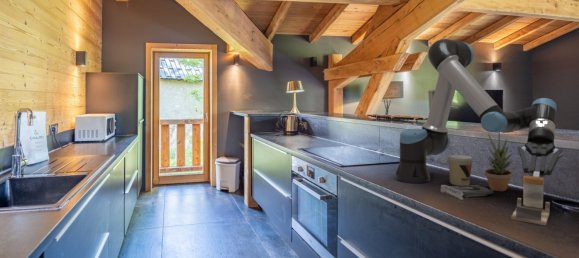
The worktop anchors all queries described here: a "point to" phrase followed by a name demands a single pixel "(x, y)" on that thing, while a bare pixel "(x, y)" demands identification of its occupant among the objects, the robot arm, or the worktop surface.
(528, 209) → the base
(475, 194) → the graphics card
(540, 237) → the worktop surface
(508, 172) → the potted plant
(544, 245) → the worktop surface
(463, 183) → the coffee cup
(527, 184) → the latch lever
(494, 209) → the worktop surface
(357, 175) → the worktop surface
